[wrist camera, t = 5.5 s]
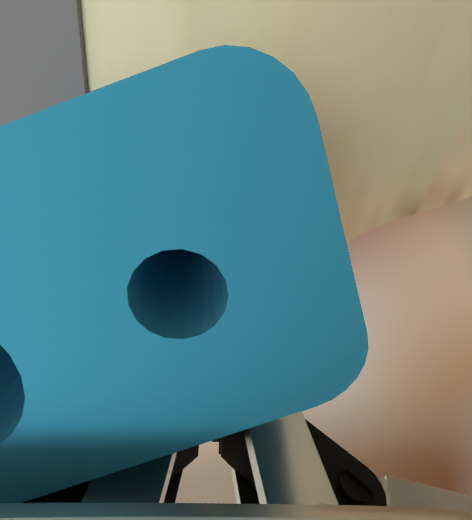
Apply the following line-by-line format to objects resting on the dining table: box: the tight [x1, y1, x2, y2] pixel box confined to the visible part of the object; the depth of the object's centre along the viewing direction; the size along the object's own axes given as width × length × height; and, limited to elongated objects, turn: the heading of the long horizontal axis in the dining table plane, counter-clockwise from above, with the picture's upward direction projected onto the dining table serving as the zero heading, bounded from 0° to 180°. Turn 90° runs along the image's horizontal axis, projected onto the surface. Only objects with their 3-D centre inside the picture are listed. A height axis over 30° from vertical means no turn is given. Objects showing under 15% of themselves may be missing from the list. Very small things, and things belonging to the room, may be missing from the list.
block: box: [0, 45, 368, 503], centre depth 14 cm, size 12×5×20 cm, turn 108°
